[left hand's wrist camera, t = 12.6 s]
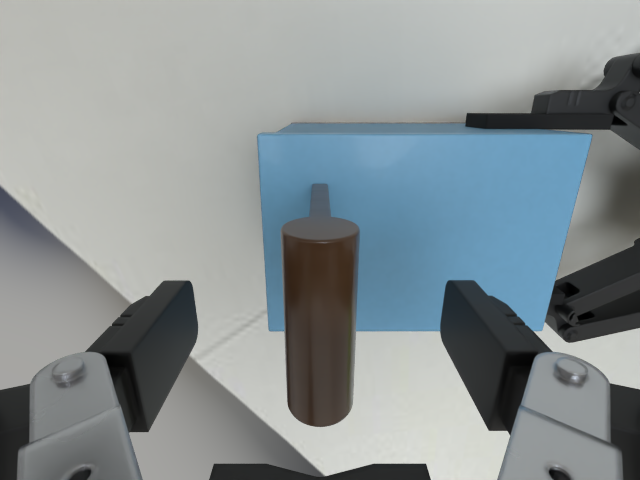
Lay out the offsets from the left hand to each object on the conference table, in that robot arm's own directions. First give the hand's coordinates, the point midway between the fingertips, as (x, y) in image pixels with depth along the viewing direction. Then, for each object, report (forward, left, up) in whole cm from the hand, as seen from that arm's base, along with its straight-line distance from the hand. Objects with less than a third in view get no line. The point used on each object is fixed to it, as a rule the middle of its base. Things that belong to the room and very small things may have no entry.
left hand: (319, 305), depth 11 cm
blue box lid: (+4, +1, -7) cm, 8 cm away
